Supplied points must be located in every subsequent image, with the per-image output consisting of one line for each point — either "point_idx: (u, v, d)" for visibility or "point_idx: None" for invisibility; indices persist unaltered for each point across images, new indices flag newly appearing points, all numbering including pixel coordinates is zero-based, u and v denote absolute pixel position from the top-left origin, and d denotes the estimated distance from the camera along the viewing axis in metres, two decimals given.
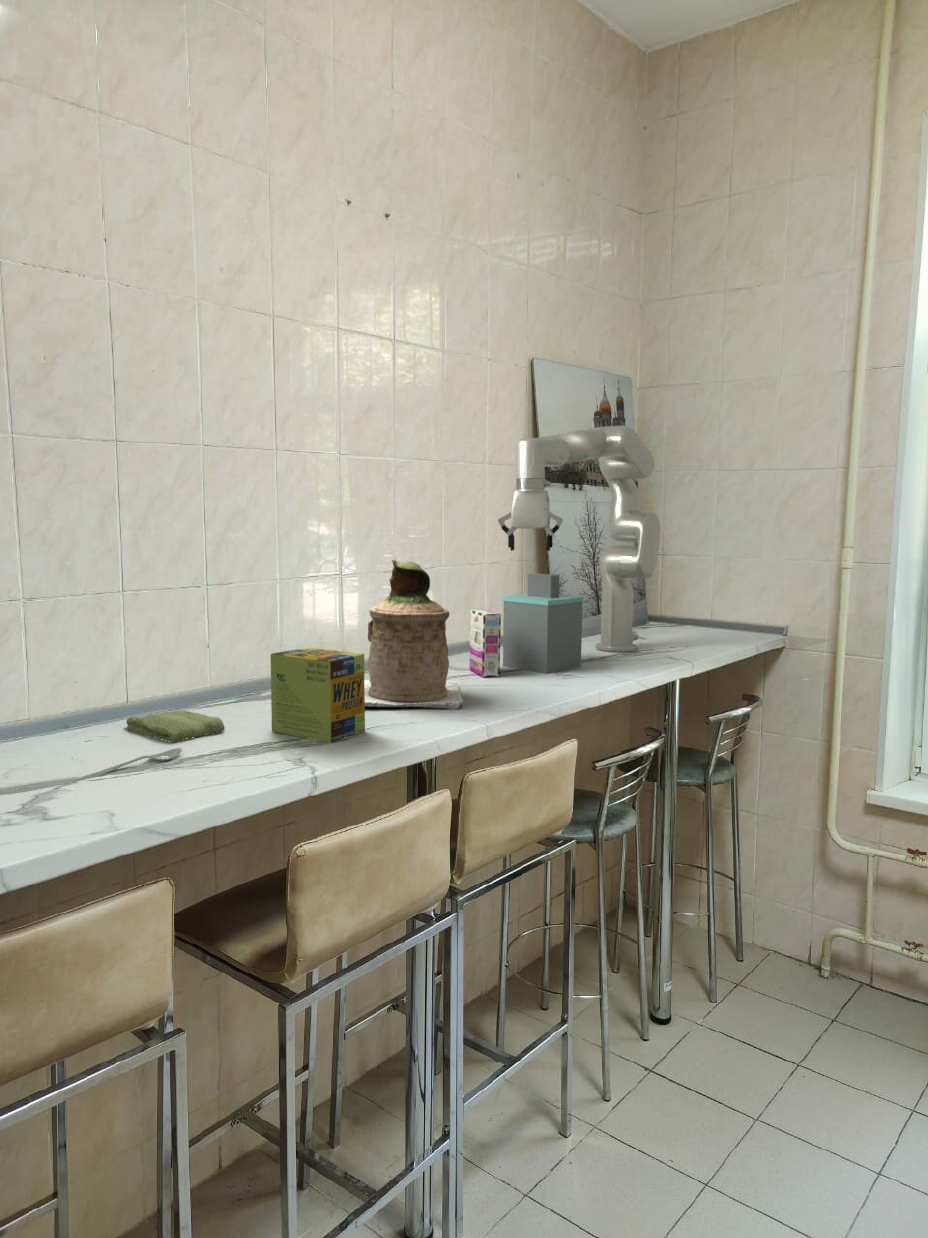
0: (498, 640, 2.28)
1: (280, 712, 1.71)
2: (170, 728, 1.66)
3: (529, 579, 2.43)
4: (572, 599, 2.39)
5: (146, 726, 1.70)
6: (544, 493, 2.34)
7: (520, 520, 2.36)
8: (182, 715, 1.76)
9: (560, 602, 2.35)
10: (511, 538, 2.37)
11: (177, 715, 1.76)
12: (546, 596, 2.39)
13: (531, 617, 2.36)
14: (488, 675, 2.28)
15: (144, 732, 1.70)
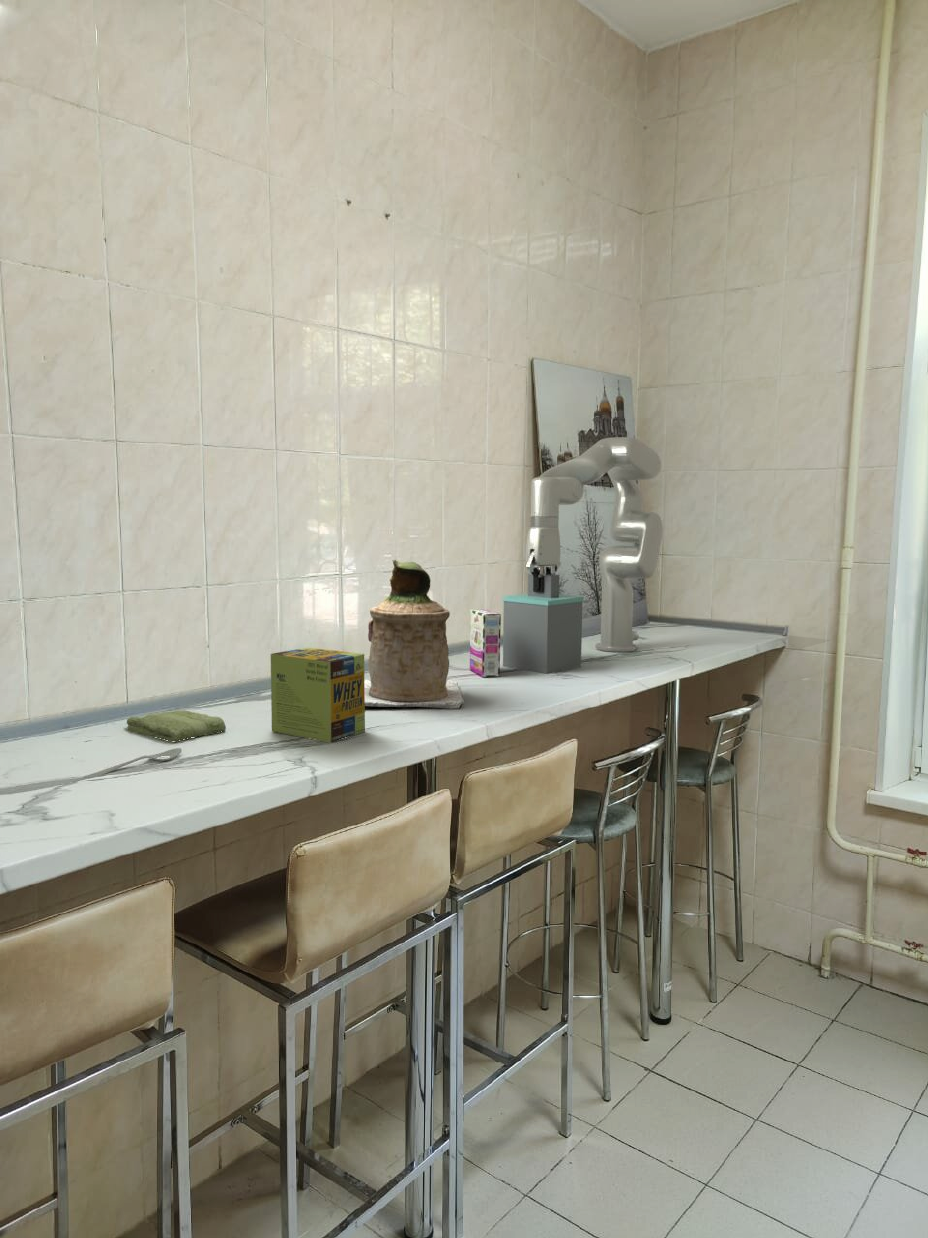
0: (498, 640, 2.28)
1: (280, 712, 1.71)
2: (172, 728, 1.66)
3: (529, 579, 2.43)
4: (572, 599, 2.39)
5: (147, 726, 1.70)
6: (558, 531, 2.41)
7: (544, 558, 2.37)
8: (183, 715, 1.76)
9: (560, 602, 2.35)
10: (543, 580, 2.39)
11: (178, 715, 1.76)
12: (546, 596, 2.39)
13: (531, 617, 2.36)
14: (488, 675, 2.28)
15: (145, 732, 1.70)
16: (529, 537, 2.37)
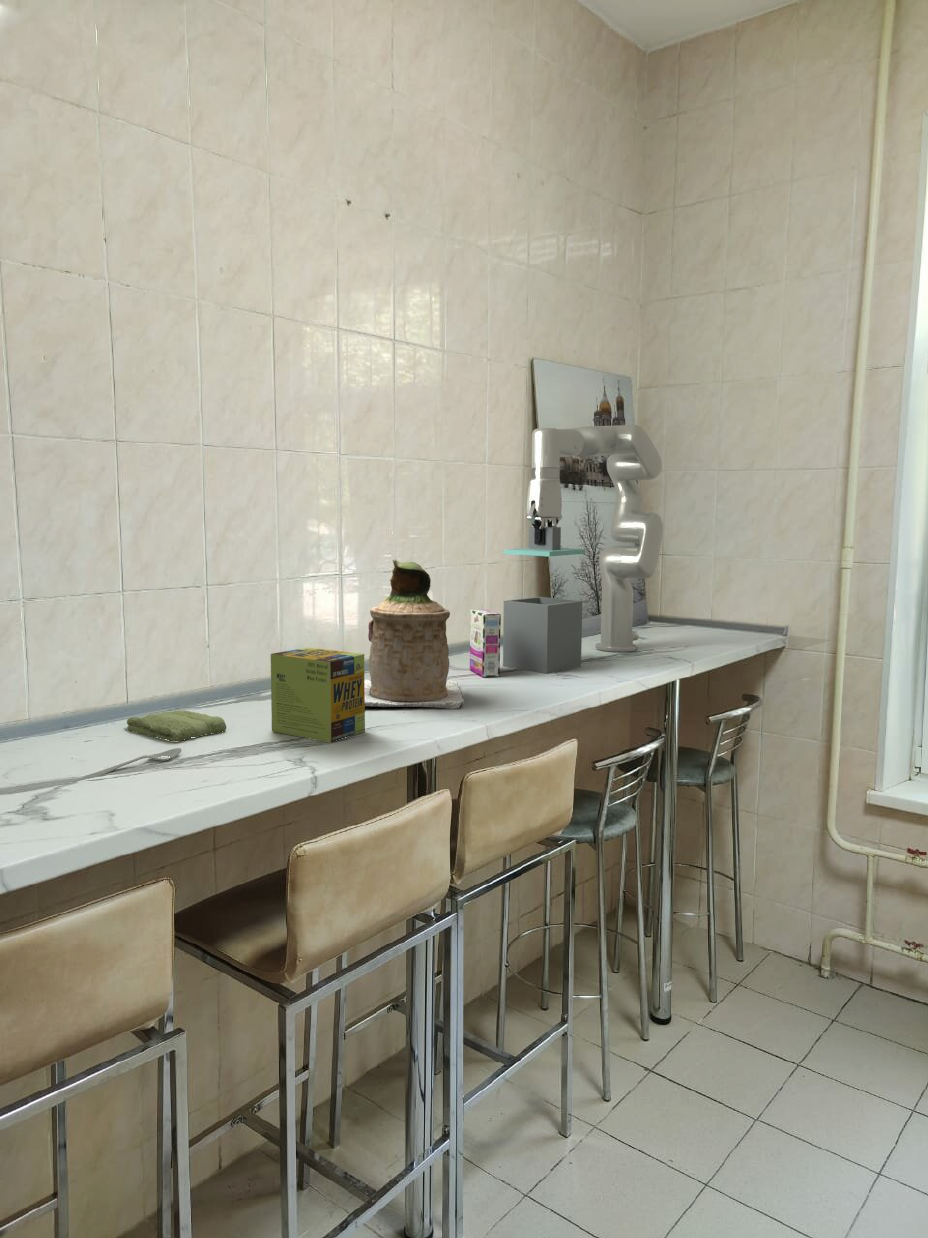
0: (498, 640, 2.28)
1: (280, 712, 1.71)
2: (173, 728, 1.66)
3: (530, 532, 2.41)
4: (574, 551, 2.37)
5: (148, 726, 1.70)
6: (559, 483, 2.40)
7: (546, 509, 2.36)
8: (183, 715, 1.76)
9: (562, 553, 2.34)
10: (544, 532, 2.37)
11: (178, 715, 1.76)
12: (547, 548, 2.37)
13: (531, 617, 2.36)
14: (488, 675, 2.28)
15: (146, 732, 1.70)
16: (530, 488, 2.36)
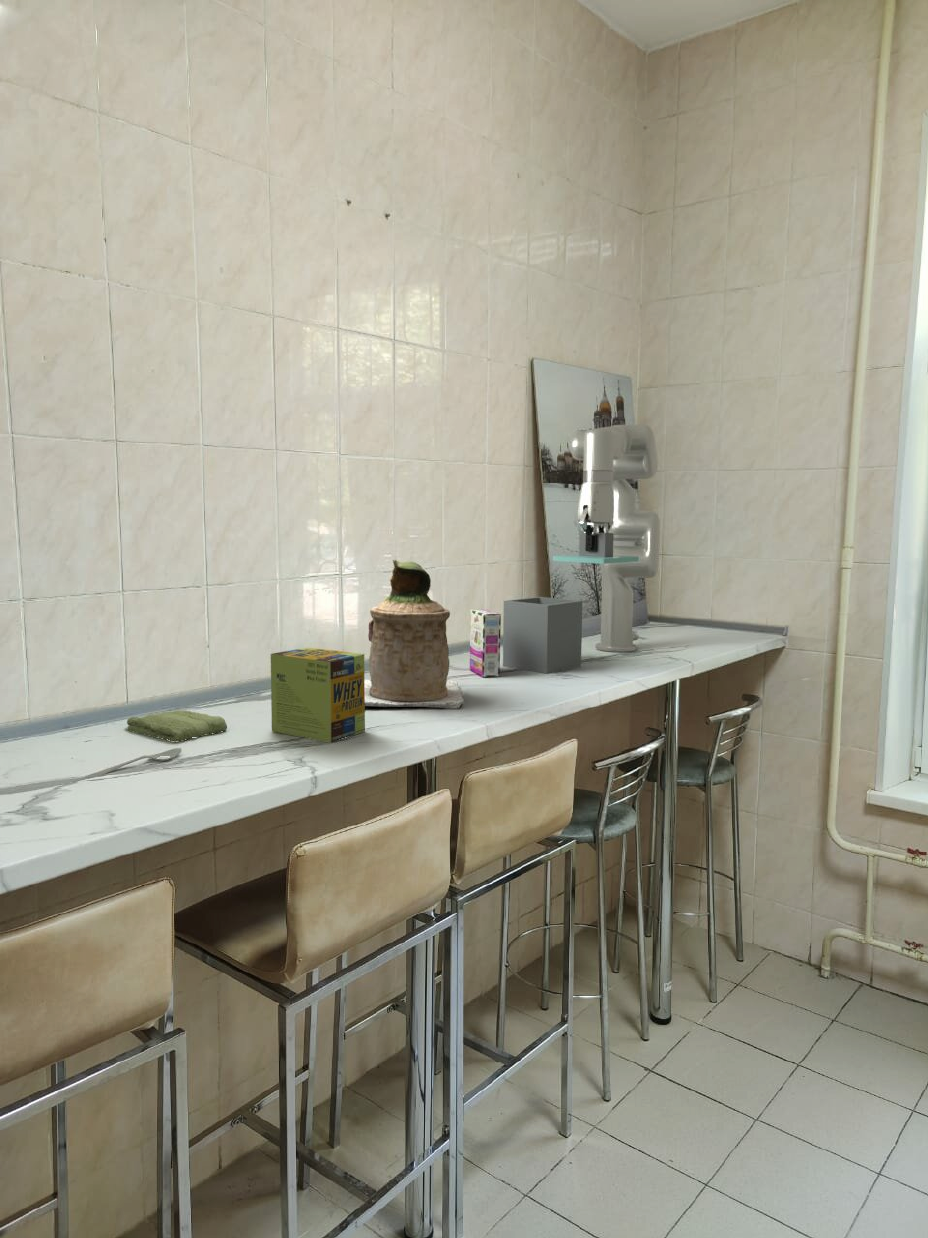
0: (498, 640, 2.28)
1: (280, 712, 1.71)
2: (174, 728, 1.67)
3: (580, 538, 2.29)
4: (627, 558, 2.25)
5: (149, 726, 1.70)
6: (612, 487, 2.28)
7: (598, 514, 2.24)
8: (183, 715, 1.76)
9: (615, 561, 2.22)
10: (596, 538, 2.26)
11: (178, 715, 1.76)
12: (600, 555, 2.26)
13: (531, 617, 2.36)
14: (488, 675, 2.28)
15: (147, 732, 1.70)
16: (582, 492, 2.24)
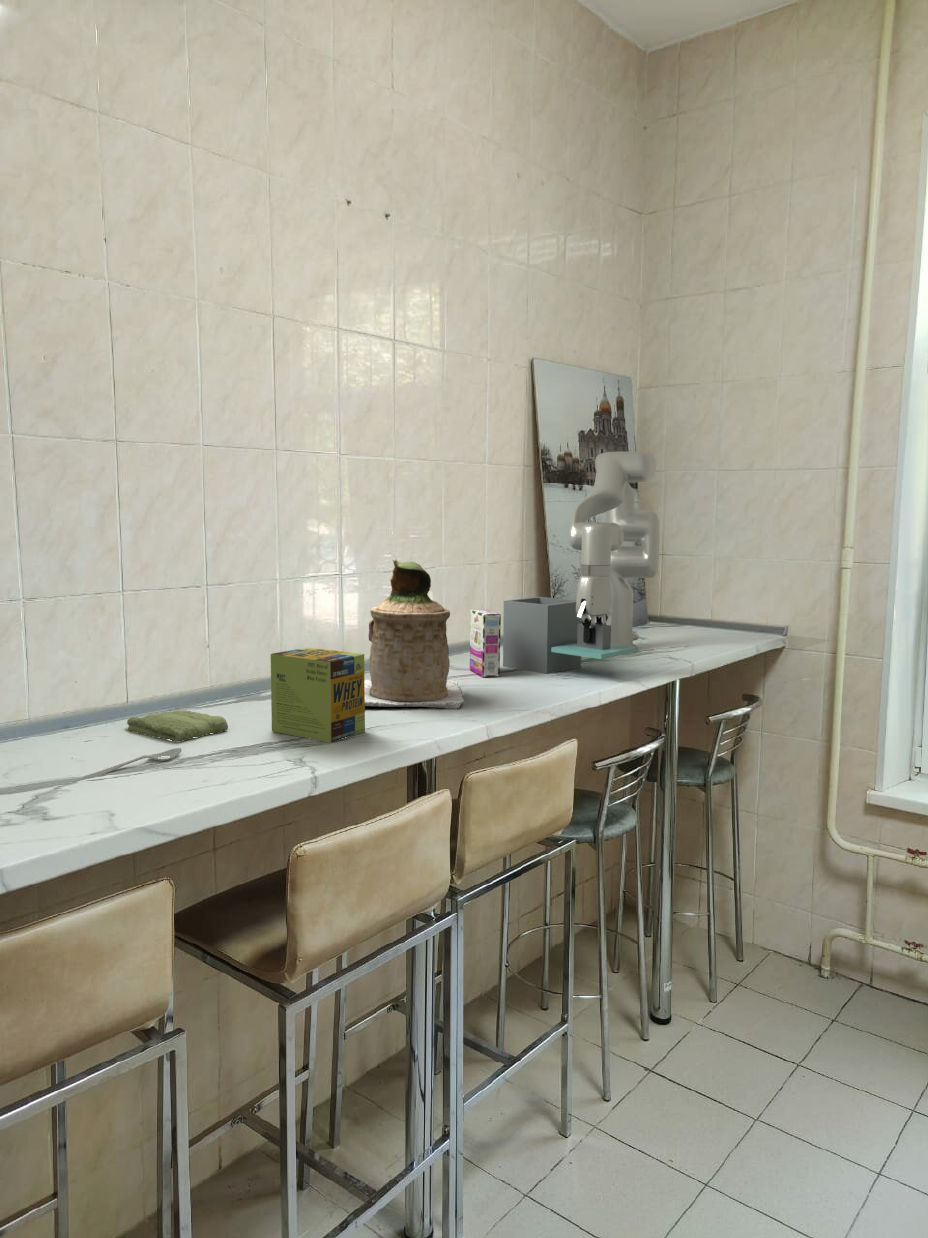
0: (498, 640, 2.28)
1: (280, 712, 1.71)
2: (175, 728, 1.67)
3: (578, 629, 2.32)
4: (625, 651, 2.29)
5: (149, 726, 1.70)
6: (610, 579, 2.31)
7: (596, 608, 2.27)
8: (184, 715, 1.76)
9: (613, 655, 2.25)
10: (594, 631, 2.29)
11: (179, 715, 1.76)
12: (597, 648, 2.29)
13: (531, 617, 2.36)
14: (488, 675, 2.28)
15: (147, 732, 1.70)
16: (580, 586, 2.27)
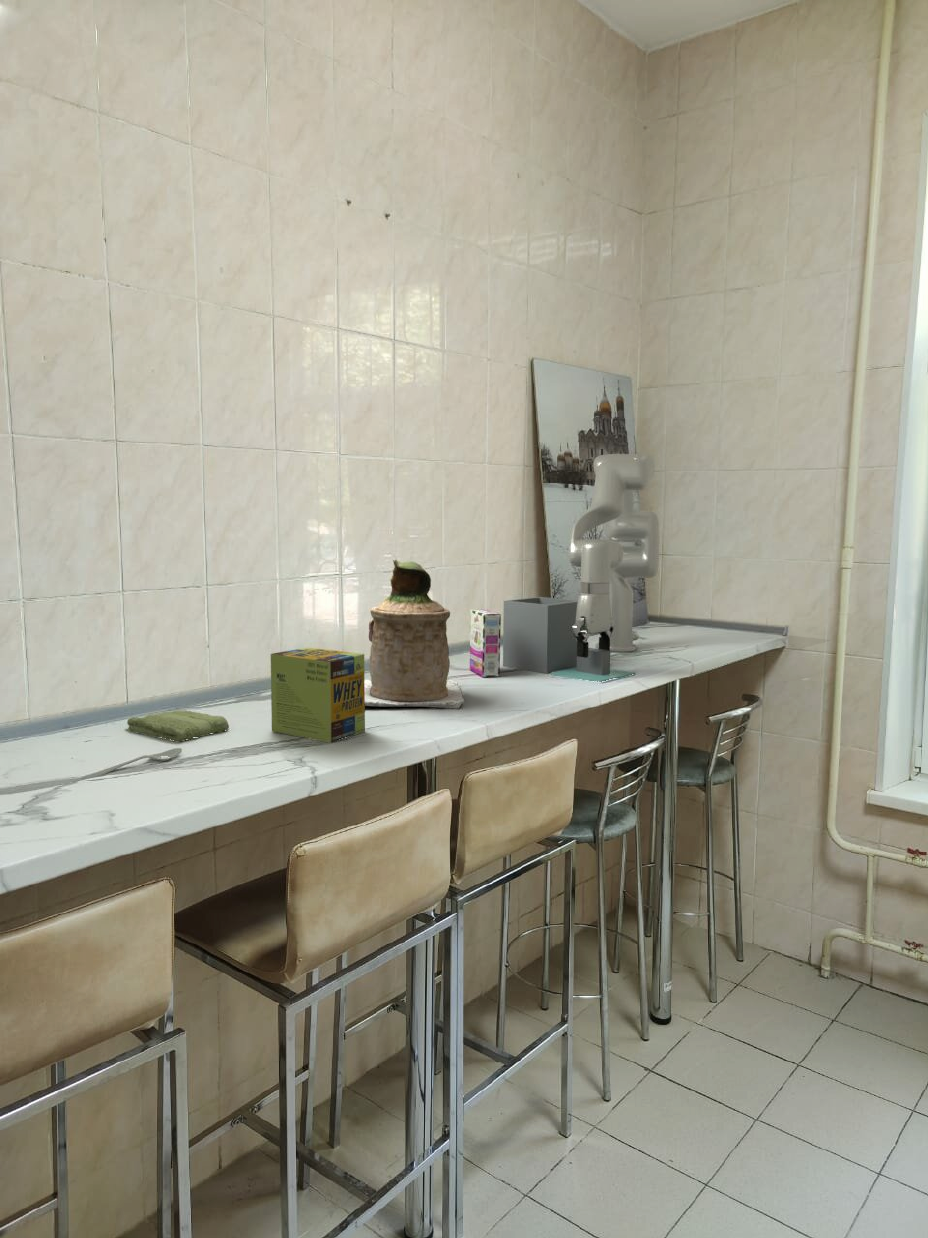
0: (498, 640, 2.28)
1: (280, 712, 1.71)
2: (177, 727, 1.67)
3: None
4: (624, 676, 2.30)
5: (150, 726, 1.70)
6: (609, 596, 2.32)
7: (596, 625, 2.28)
8: (184, 715, 1.76)
9: None
10: (587, 645, 2.27)
11: (179, 715, 1.76)
12: (597, 673, 2.30)
13: (531, 617, 2.36)
14: (488, 675, 2.28)
15: (148, 732, 1.70)
16: (580, 604, 2.28)
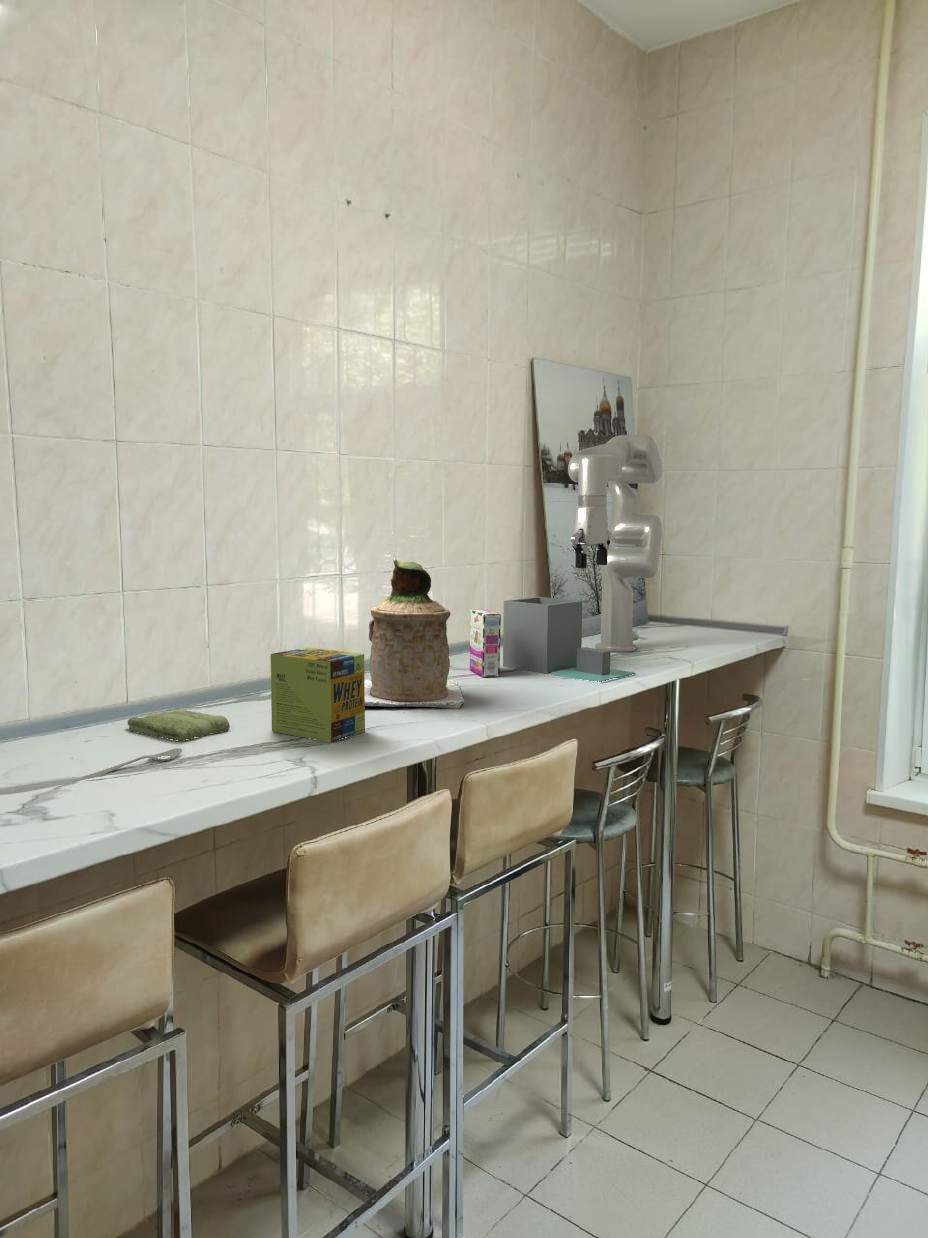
0: (498, 640, 2.28)
1: (280, 712, 1.71)
2: (178, 727, 1.67)
3: (578, 654, 2.33)
4: (624, 676, 2.30)
5: (151, 726, 1.70)
6: (606, 509, 2.38)
7: (593, 537, 2.35)
8: (185, 715, 1.76)
9: None
10: (585, 556, 2.34)
11: (179, 715, 1.76)
12: (597, 673, 2.30)
13: (531, 617, 2.36)
14: (488, 675, 2.28)
15: (149, 732, 1.70)
16: (577, 516, 2.35)
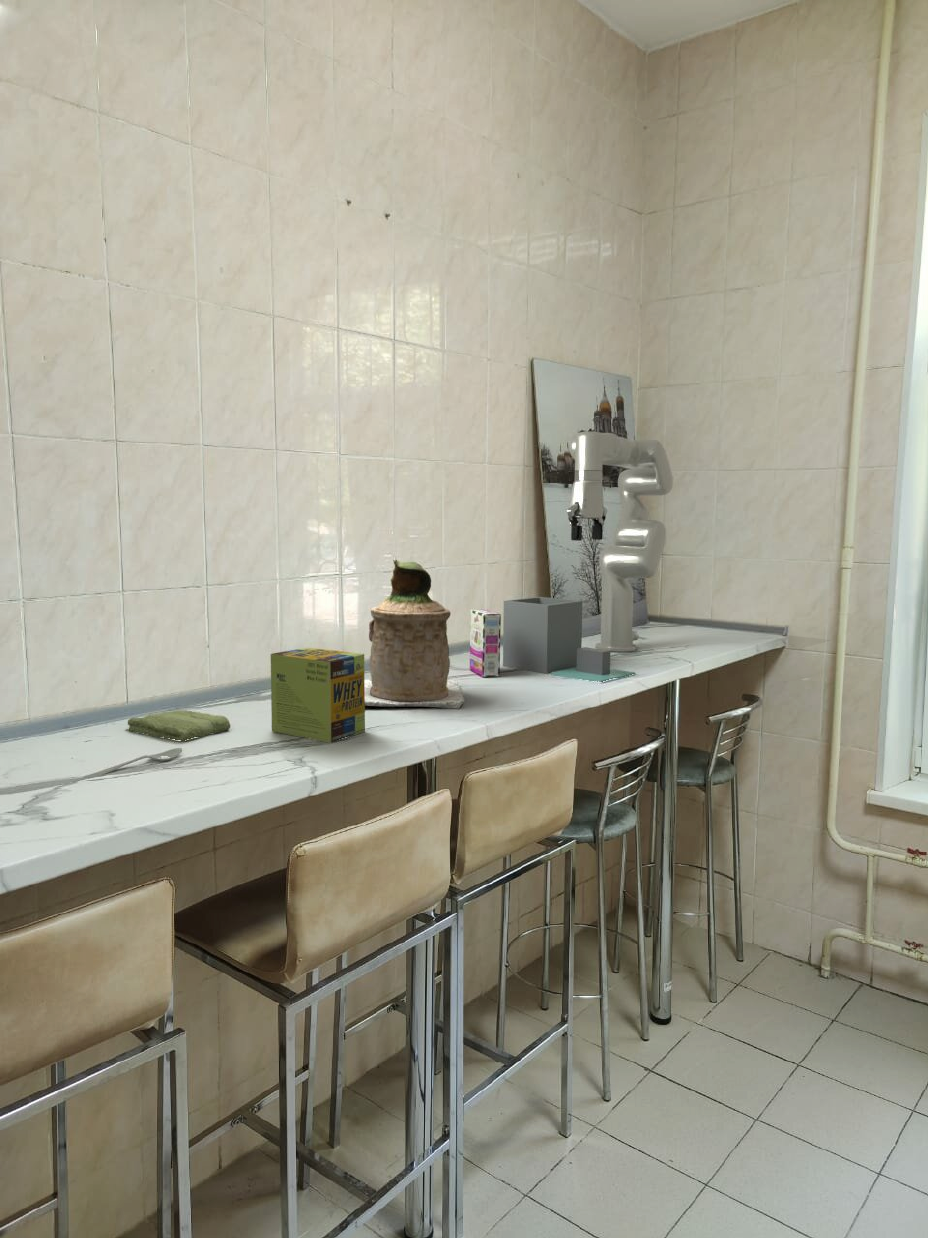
0: (498, 640, 2.28)
1: (280, 712, 1.71)
2: (179, 727, 1.67)
3: (578, 654, 2.33)
4: (624, 676, 2.30)
5: (152, 726, 1.70)
6: None
7: (589, 510, 2.43)
8: (185, 715, 1.76)
9: None
10: (581, 528, 2.42)
11: (180, 715, 1.76)
12: (597, 673, 2.30)
13: (531, 617, 2.36)
14: (488, 675, 2.28)
15: (150, 732, 1.70)
16: (574, 490, 2.43)
